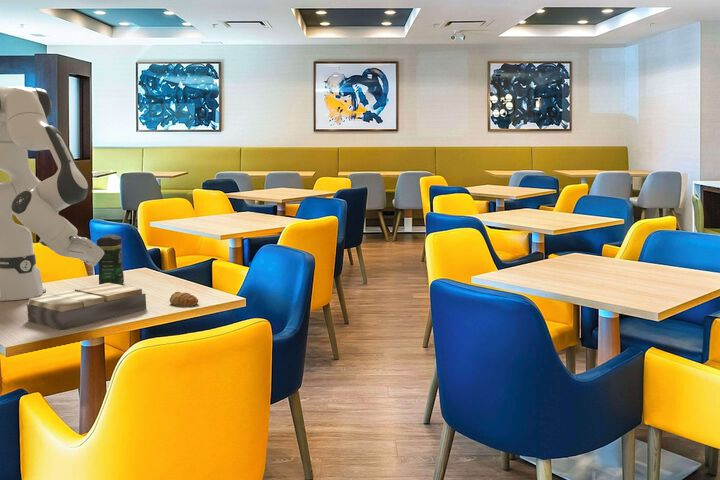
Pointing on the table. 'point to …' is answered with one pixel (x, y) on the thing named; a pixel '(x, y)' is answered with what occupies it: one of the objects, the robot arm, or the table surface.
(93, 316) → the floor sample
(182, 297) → the pastry
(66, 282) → the table surface
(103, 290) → the plank
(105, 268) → the coffee jar
